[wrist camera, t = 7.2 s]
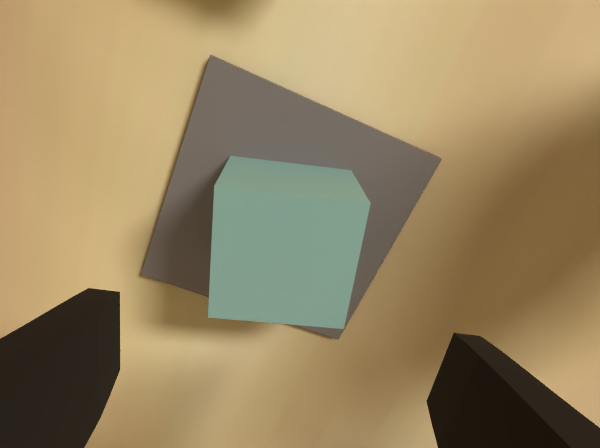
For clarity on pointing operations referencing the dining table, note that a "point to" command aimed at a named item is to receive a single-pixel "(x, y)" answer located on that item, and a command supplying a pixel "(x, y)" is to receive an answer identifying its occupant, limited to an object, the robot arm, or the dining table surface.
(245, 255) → the teal brick
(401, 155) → the mat
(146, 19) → the dining table surface
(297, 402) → the dining table surface
